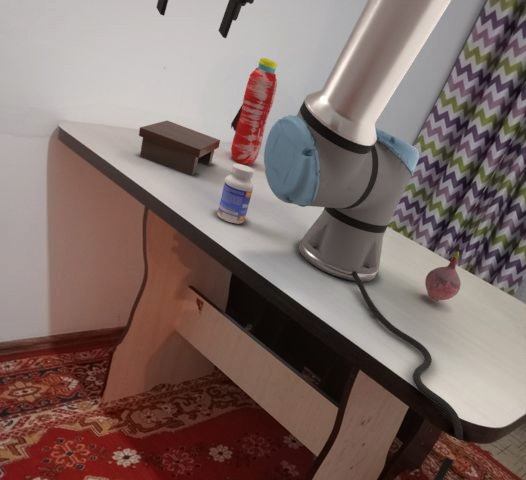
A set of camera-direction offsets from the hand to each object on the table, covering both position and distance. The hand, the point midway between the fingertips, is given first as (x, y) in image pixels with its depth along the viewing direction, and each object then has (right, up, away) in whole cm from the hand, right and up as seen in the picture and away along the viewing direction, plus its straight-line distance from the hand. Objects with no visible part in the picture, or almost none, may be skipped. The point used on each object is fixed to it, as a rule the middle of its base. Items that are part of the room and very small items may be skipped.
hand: (192, 23), depth 91 cm
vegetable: (+45, -56, -6) cm, 72 cm away
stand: (-6, -20, +18) cm, 27 cm away
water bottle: (+7, -12, +37) cm, 39 cm away
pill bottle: (+8, -39, -3) cm, 40 cm away
